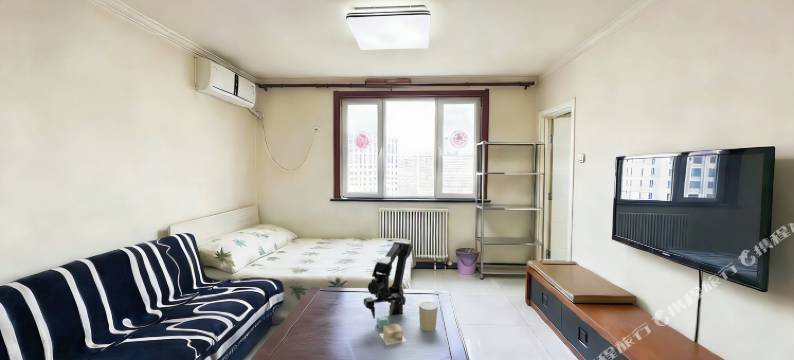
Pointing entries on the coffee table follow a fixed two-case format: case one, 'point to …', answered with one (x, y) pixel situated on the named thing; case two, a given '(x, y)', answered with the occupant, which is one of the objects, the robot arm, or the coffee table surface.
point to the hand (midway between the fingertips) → (382, 316)
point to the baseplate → (391, 342)
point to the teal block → (382, 321)
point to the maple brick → (392, 333)
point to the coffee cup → (428, 316)
